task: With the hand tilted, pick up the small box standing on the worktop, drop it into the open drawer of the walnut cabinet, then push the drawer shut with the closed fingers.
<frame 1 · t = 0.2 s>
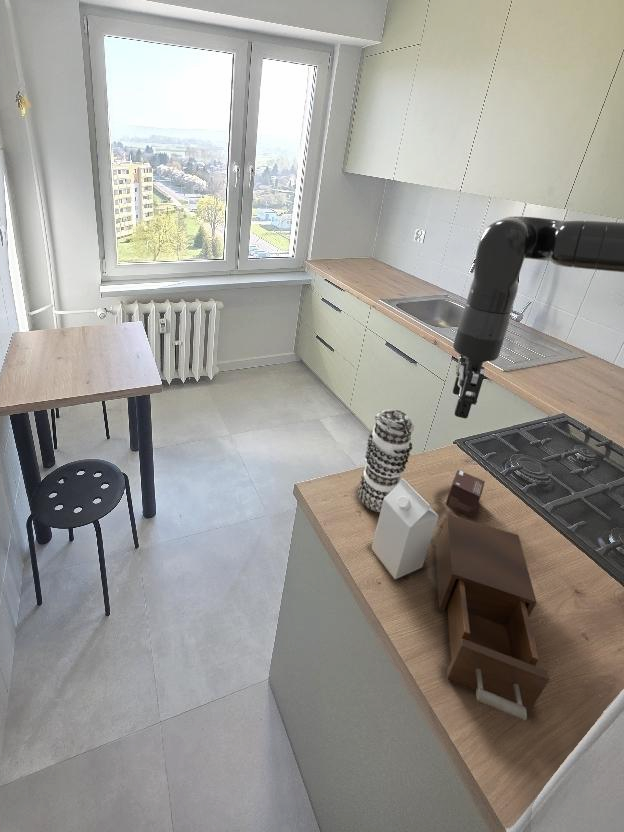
hand: (459, 404, 82), 32 cm above the counter, tool pointing down, fingers open, 8 cm apart
box: (460, 506, 99), on the counter
drawer: (491, 650, 66), point 5 cm above the counter, slide at 10.0 cm
milk carton: (395, 561, 85), on the counter
decorative candle: (375, 502, 99), on the counter
cabinet: (471, 591, 80), on the counter
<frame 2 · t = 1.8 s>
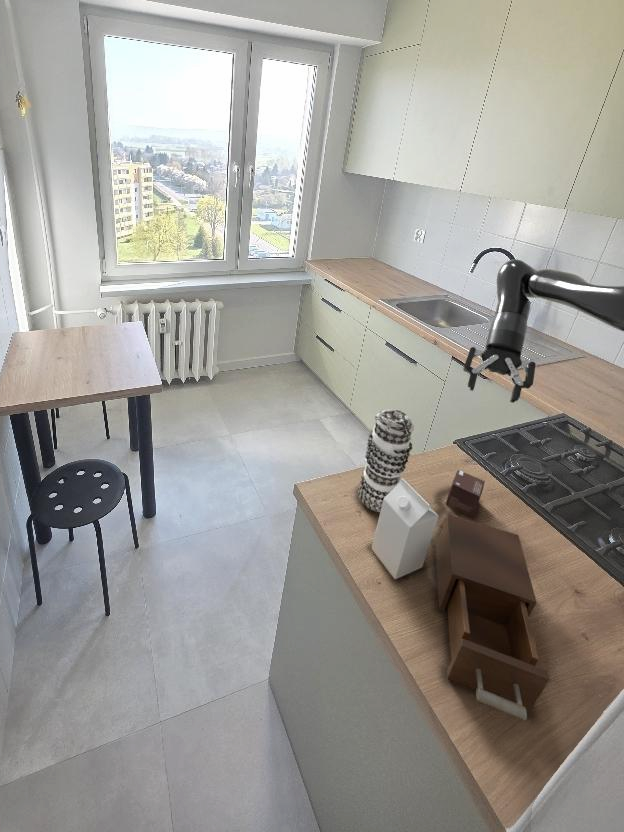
hand: (491, 395, 98), 25 cm above the counter, tool tilted 45°, fingers open, 8 cm apart
nothing on the counter moved.
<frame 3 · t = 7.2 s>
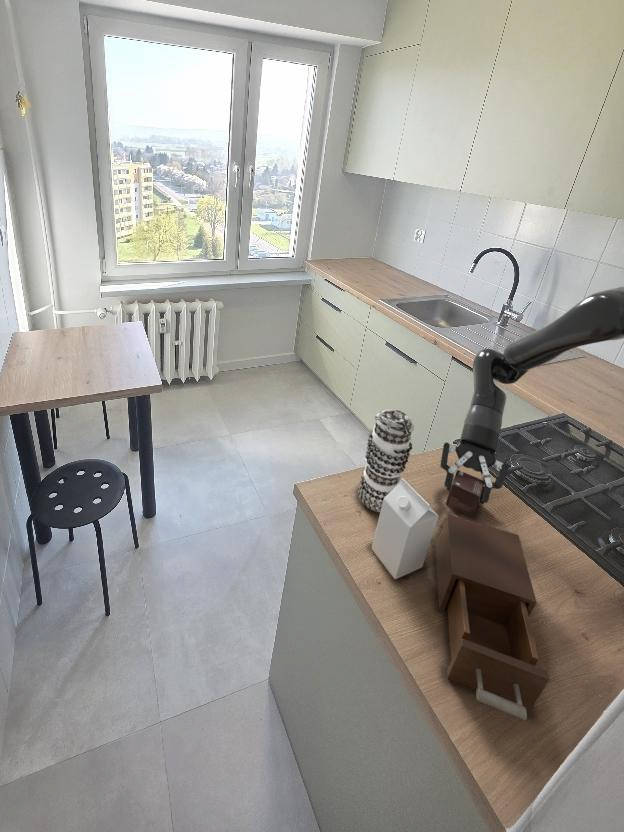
hand: (464, 496, 96), 4 cm above the counter, tool tilted 45°, fingers closed on box, 6 cm apart
box: (460, 506, 99), on the counter, touching gripper
everything else where it was.
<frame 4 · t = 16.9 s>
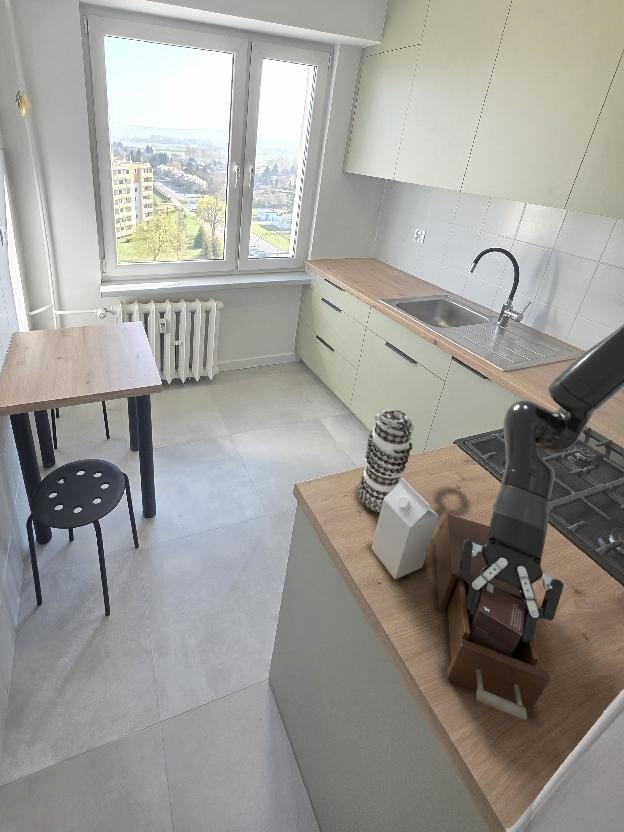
hand: (496, 627, 65), 10 cm above the counter, tool tilted 45°, fingers closed on box, 6 cm apart
box: (488, 635, 68), point 5 cm above the counter, touching gripper
drawer: (491, 650, 66), point 5 cm above the counter, slide at 10.1 cm, touching gripper
everything else where it was.
when the fingers open (10 cm above the counter, at t = 27.1 s): box drops 4 cm, resting on drawer.
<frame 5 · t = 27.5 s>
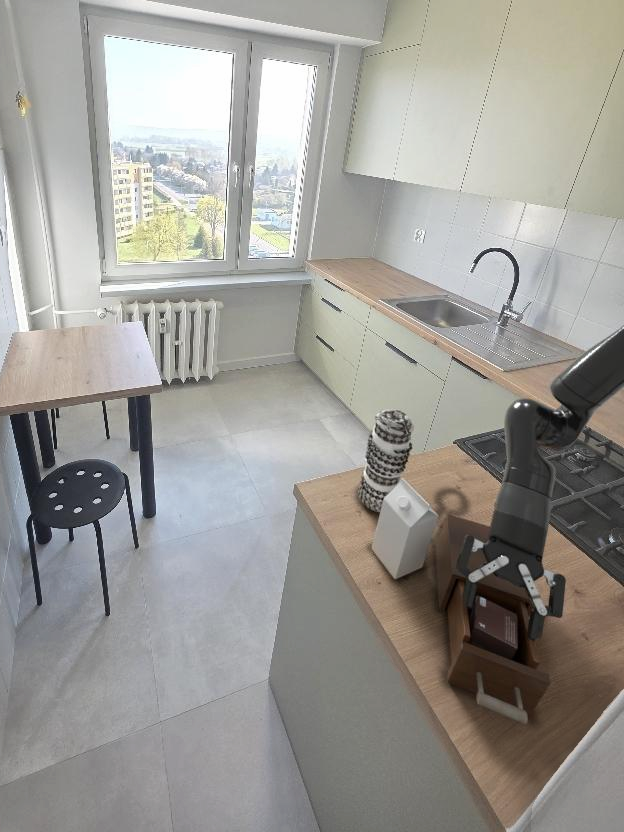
hand: (498, 622, 65), 11 cm above the counter, tool tilted 45°, fingers open, 8 cm apart
box: (483, 648, 69), point 2 cm above the counter, touching drawer
drawer: (491, 653, 66), point 5 cm above the counter, slide at 10.5 cm, touching box
everything else where it was.
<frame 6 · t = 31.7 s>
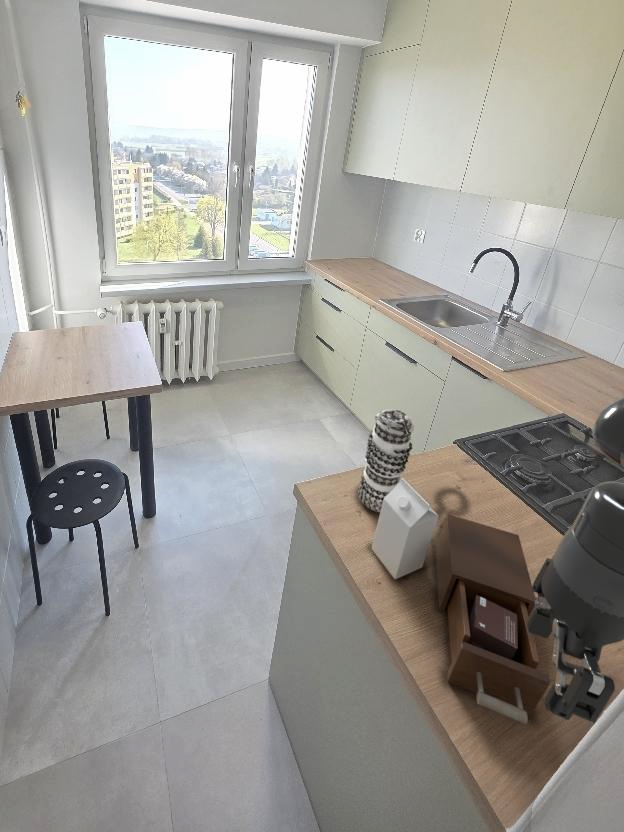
hand: (545, 668, 49), 22 cm above the counter, tool pointing down, fingers open, 8 cm apart
nothing on the counter moved.
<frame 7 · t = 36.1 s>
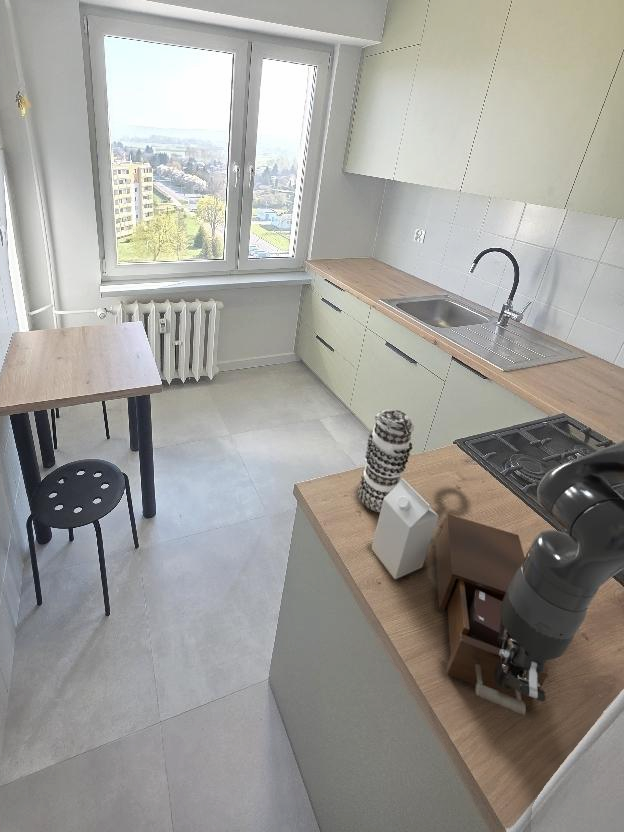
hand: (502, 681, 60), 7 cm above the counter, tool pointing down, fingers closed
box: (482, 641, 70), point 2 cm above the counter, touching drawer
drawer: (490, 645, 67), point 5 cm above the counter, slide at 9.3 cm, touching box, gripper
everything else where it was.
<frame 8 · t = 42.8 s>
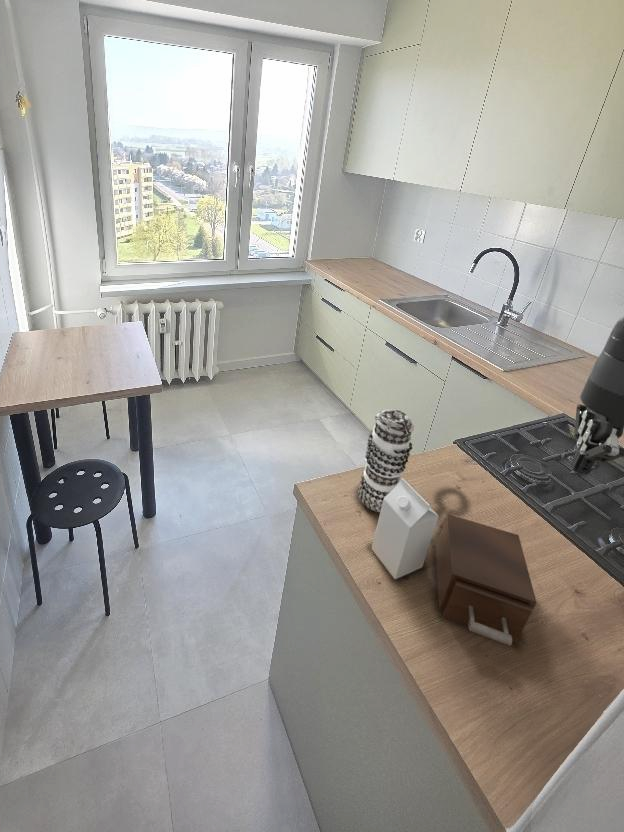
hand: (578, 469, 70), 29 cm above the counter, tool pointing down, fingers closed
box: (475, 590, 78), point 2 cm above the counter, touching drawer
drawer: (482, 591, 75), point 5 cm above the counter, slide at 0.0 cm, touching box, cabinet
everything else where it was.
at the end: box inside the target area in the cabinet (1.1 cm from its centre), point 1.8 cm above the cabinet's base; drawer slide at 0.0 cm; box tilted 0° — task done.
